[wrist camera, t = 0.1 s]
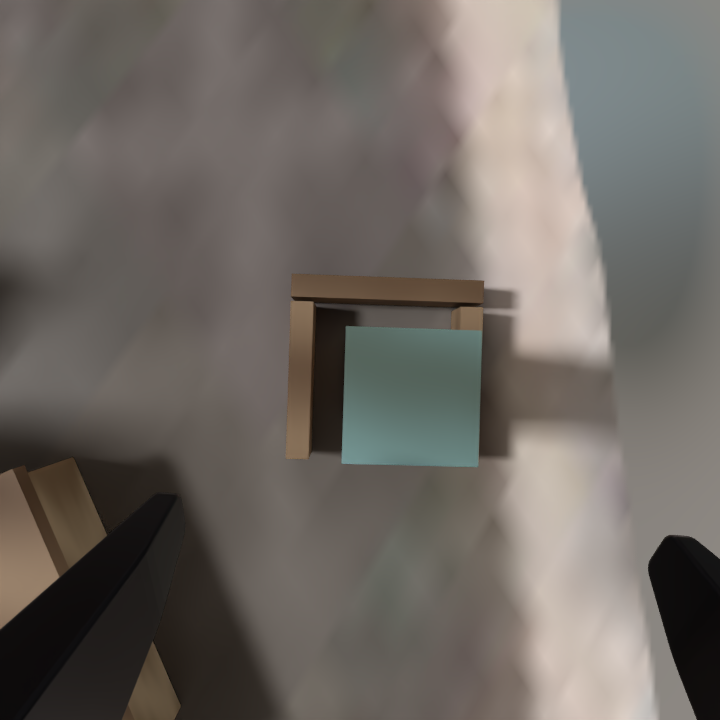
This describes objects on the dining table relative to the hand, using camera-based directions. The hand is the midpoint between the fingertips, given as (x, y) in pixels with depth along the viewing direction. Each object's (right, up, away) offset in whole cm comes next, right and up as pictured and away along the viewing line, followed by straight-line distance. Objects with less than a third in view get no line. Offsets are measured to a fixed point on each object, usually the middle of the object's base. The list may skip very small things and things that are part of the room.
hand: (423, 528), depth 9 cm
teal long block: (0, +2, +15) cm, 15 cm away
